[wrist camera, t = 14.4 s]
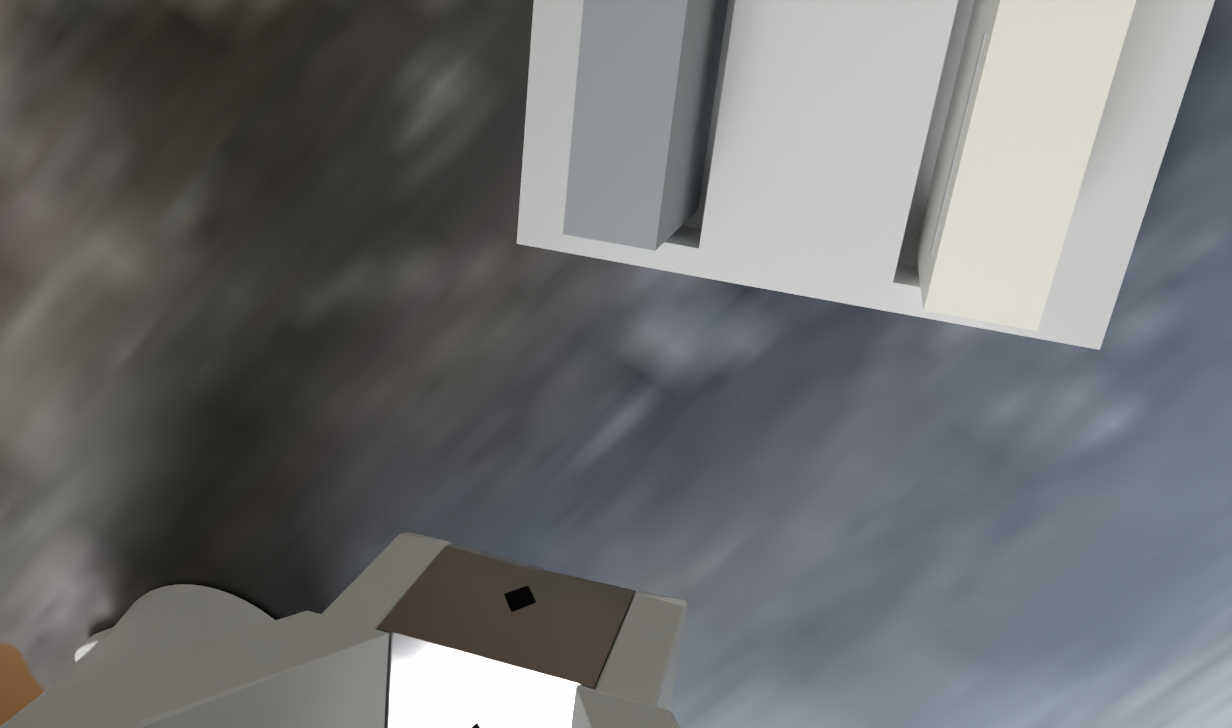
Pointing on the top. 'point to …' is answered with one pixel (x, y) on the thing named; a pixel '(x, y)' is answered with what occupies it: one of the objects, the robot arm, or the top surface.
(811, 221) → the rack
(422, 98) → the top surface
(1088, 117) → the panel
